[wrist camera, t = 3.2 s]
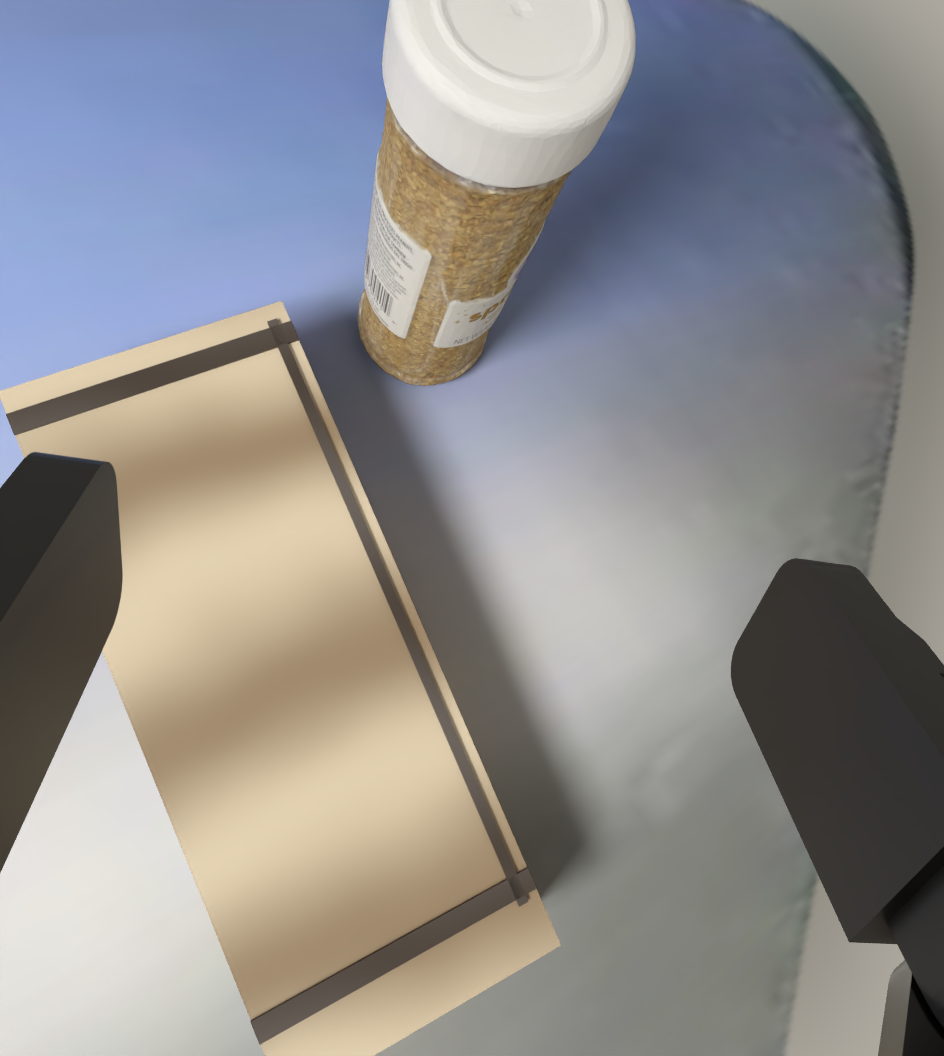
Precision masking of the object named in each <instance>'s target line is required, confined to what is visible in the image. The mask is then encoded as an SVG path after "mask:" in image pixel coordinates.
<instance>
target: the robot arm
mask: <svg viewBox="0 0 944 1056" xmlns="http://www.w3.org/2000/svg"><path fill="white" fill-rule="evenodd" d="M122 580H123V571H122V555H121V540H120V524H119V509H118V494H117V480H116V474H115V470H114V467H113V466H112V464H111V463H110V462H105V461H98V460H91V459H84V458H76V457H69V456H62V455H55V454H47V453H40V452H32V453H30V454H29V455H27V456H26V457H25V458H24V459H23V461H22V462H21V463H20V464H19V466H18V467H17V468H16V469H15V471H14V472H13V473H12V474H11V476H10V477H9V478H8V479H7V481H6V482H5V483H4V484H3V486H2V487H1V488H0V872H1V870H2V868H3V866H4V864H5V861H6V859H7V857H8V855H9V853H10V850H11V848H12V846H13V844H14V842H15V840H16V837H17V835H18V833H19V831H20V829H21V826H22V824H23V822H24V820H25V818H26V816H27V813H28V811H29V809H30V807H31V805H32V802H33V800H34V798H35V796H36V794H37V792H38V789H39V787H40V785H41V783H42V781H43V778H44V776H45V774H46V772H47V770H48V768H49V765H50V763H51V761H52V759H53V757H54V754H55V752H56V750H57V748H58V746H59V744H60V741H61V739H62V737H63V735H64V733H65V731H66V728H67V726H68V724H69V722H70V720H71V717H72V715H73V713H74V711H75V709H76V707H77V704H78V702H79V700H80V698H81V696H82V693H83V691H84V689H85V687H86V685H87V683H88V680H89V678H90V676H91V674H92V672H93V669H94V667H95V665H96V663H97V661H98V659H99V656H100V654H101V652H102V650H103V648H104V645H105V643H106V641H107V639H108V637H109V635H110V632H111V630H112V628H113V625H114V622H115V620H116V616H117V613H118V608H119V604H120V599H121V592H122ZM731 679H732V685H733V689H734V692H735V695H736V697H737V699H738V701H739V704H740V706H741V708H742V710H743V712H744V714H745V717H746V719H747V721H748V723H749V725H750V727H751V730H752V732H753V734H754V736H755V738H756V740H757V743H758V745H759V747H760V749H761V751H762V754H763V756H764V758H765V760H766V762H767V764H768V767H769V769H770V771H771V773H772V775H773V777H774V780H775V782H776V784H777V786H778V788H779V791H780V793H781V795H782V797H783V799H784V801H785V804H786V806H787V808H788V810H789V812H790V814H791V817H792V819H793V821H794V823H795V825H796V827H797V830H798V832H799V834H800V836H801V838H802V841H803V843H804V845H805V847H806V849H807V851H808V854H809V856H810V858H811V860H812V862H813V864H814V867H815V869H816V871H817V873H818V875H819V878H820V880H821V882H822V884H823V886H824V888H825V891H826V893H827V895H828V897H829V899H830V901H831V903H832V906H833V908H834V910H835V912H836V914H837V917H838V919H839V921H840V923H841V925H842V928H843V930H844V932H845V934H846V936H847V938H848V941H849V942H857V943H884V944H885V943H886V944H897V945H898V946H899V949H900V950H901V952H902V954H903V956H904V958H905V960H904V961H903V962H902V963H901V964H900V965H899V966H898V967H897V968H896V969H895V970H894V971H893V973H892V975H891V977H890V980H889V984H888V991H887V997H886V1004H885V1011H884V1018H883V1025H882V1032H881V1039H880V1046H879V1052H878V1056H944V665H943V664H942V663H941V661H940V660H939V659H938V657H937V656H936V655H935V653H934V652H933V651H932V650H931V649H930V647H929V646H928V645H927V643H926V642H925V641H924V640H923V639H922V638H920V637H919V636H918V635H917V634H916V633H915V632H913V631H912V630H911V629H910V628H909V627H907V626H906V625H905V624H903V623H902V622H901V621H900V620H899V619H898V618H896V616H895V615H894V614H893V612H892V611H891V610H890V609H889V607H888V606H887V605H886V603H885V602H884V601H883V599H882V598H881V597H880V596H879V594H878V593H877V592H876V591H875V589H874V588H873V586H872V585H871V584H870V583H869V581H868V580H867V579H866V577H865V576H864V575H863V574H862V573H861V572H860V570H858V569H857V568H855V567H853V566H849V565H841V564H834V563H827V562H820V561H812V560H805V559H797V558H796V559H791V560H789V561H787V562H786V563H784V564H783V565H782V566H781V568H780V569H779V570H778V572H777V573H776V575H775V577H774V579H773V580H772V582H771V584H770V586H769V587H768V589H767V591H766V593H765V594H764V596H763V598H762V600H761V602H760V603H759V605H758V607H757V609H756V610H755V612H754V614H753V616H752V617H751V619H750V621H749V623H748V625H747V626H746V628H745V630H744V632H743V633H742V635H741V637H740V639H739V640H738V642H737V644H736V646H735V649H734V652H733V656H732V662H731Z"/></svg>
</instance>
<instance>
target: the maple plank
mask: <svg viewBox="0 0 944 1056" xmlns="http://www.w3.org/2000/svg"><path fill="white" fill-rule="evenodd" d="M0 398H1V401H2V403H3V406H4V408H5V411H6V413H7V414H6V416H7V418H8V421H9V423H10V426H11V428H12V431H13V433H14V435H15V436H16V438H17V441H18V443H19V446H20V448H21V451H22V453H23V455H24V458H25V457H26V456H27V455H29V454H30V453H32V452H40V453H47V454H55V455H62V456H69V457H76V458H84V459H91V460H98V461H105V462H110V463H111V464H112V466H113V467H114V470H115V474H116V480H117V494H118V509H119V524H120V540H121V555H122V571H123V580H122V592H121V599H120V604H119V608H118V613H117V616H116V620H115V622H114V625H113V628H112V630H111V632H110V635H109V637H108V639H107V641H106V643H105V645H104V648H103V650H102V652H103V654H104V657H105V659H106V662H107V664H108V667H109V669H110V672H111V674H112V676H113V679H114V681H115V684H116V686H117V689H118V691H119V694H120V696H121V699H122V701H123V704H124V706H125V709H126V711H127V714H128V716H129V719H130V721H131V724H132V726H133V729H134V731H135V734H136V736H137V739H138V741H139V744H140V746H141V748H142V751H143V753H144V756H145V758H146V761H147V763H148V766H149V768H150V771H151V773H152V776H153V778H154V781H155V783H156V786H157V788H158V791H159V793H160V796H161V798H162V801H163V803H164V806H165V808H166V811H167V813H168V816H169V818H170V821H171V823H172V825H173V828H174V830H175V833H176V835H177V838H178V840H179V843H180V845H181V848H182V850H183V853H184V855H185V858H186V860H187V863H188V865H189V868H190V870H191V873H192V875H193V878H194V880H195V883H196V885H197V888H198V890H199V893H200V895H201V897H202V900H203V902H204V905H205V907H206V910H207V912H208V915H209V917H210V920H211V922H212V925H213V927H214V930H215V932H216V935H217V937H218V940H219V942H220V945H221V947H222V950H223V952H224V955H225V957H226V960H227V962H228V965H229V967H230V970H231V972H232V974H233V977H234V979H235V982H236V984H237V987H238V989H239V992H240V994H241V997H242V999H243V1002H244V1004H245V1007H246V1009H247V1012H248V1014H249V1017H250V1019H251V1024H252V1027H253V1029H254V1032H255V1034H256V1037H257V1039H258V1042H259V1044H261V1046H262V1049H263V1051H264V1054H265V1056H374V1055H376V1054H377V1053H379V1052H381V1051H382V1050H384V1049H386V1048H388V1047H389V1046H391V1045H393V1044H394V1043H396V1042H398V1041H399V1040H401V1039H403V1038H404V1037H406V1036H408V1035H410V1034H411V1033H413V1032H415V1031H416V1030H418V1029H420V1028H421V1027H423V1026H425V1025H427V1024H428V1023H430V1022H432V1021H433V1020H435V1019H437V1018H438V1017H440V1016H442V1015H443V1014H445V1013H447V1012H449V1011H450V1010H452V1009H454V1008H455V1007H457V1006H459V1005H460V1004H462V1003H464V1002H465V1001H467V1000H469V999H471V998H472V997H474V996H476V995H477V994H479V993H481V992H482V991H484V990H486V989H488V988H489V987H491V986H493V985H494V984H496V983H498V982H499V981H501V980H503V979H504V978H506V977H508V976H510V975H511V974H513V973H515V972H516V971H518V970H520V969H521V968H523V967H525V966H527V965H528V964H530V963H532V962H533V961H535V960H537V959H538V958H540V957H542V956H543V955H545V954H547V953H549V952H550V951H552V950H554V949H555V948H557V947H559V946H560V945H561V944H560V942H559V940H558V937H557V935H556V933H555V930H554V928H553V926H552V923H551V921H550V919H549V916H548V914H547V912H546V910H545V907H544V905H543V903H542V900H541V898H540V896H539V893H538V891H537V888H536V885H535V883H534V881H533V878H532V876H531V874H530V871H529V869H528V867H527V866H526V863H525V861H524V859H523V856H522V854H521V852H520V849H519V847H518V845H517V843H516V840H515V838H514V836H513V833H512V831H511V829H510V826H509V824H508V822H507V819H506V817H505V815H504V813H503V810H502V808H501V806H500V803H499V801H498V799H497V796H496V794H495V792H494V789H493V787H492V785H491V782H490V780H489V778H488V776H487V773H486V771H485V769H484V766H483V764H482V762H481V759H480V757H479V755H478V752H477V750H476V748H475V746H474V743H473V741H472V739H471V736H470V734H469V732H468V729H467V727H466V725H465V722H464V720H463V718H462V716H461V713H460V711H459V709H458V706H457V704H456V702H455V699H454V697H453V695H452V692H451V690H450V688H449V685H448V683H447V681H446V679H445V676H444V674H443V672H442V669H441V667H440V665H439V662H438V660H437V658H436V655H435V653H434V651H433V649H432V646H431V644H430V642H429V639H428V637H427V635H426V632H425V630H424V628H423V625H422V623H421V621H420V619H419V616H418V614H417V612H416V609H415V607H414V605H413V602H412V600H411V598H410V595H409V593H408V591H407V589H406V586H405V584H404V582H403V579H402V577H401V575H400V572H399V570H398V568H397V565H396V563H395V561H394V558H393V556H392V554H391V552H390V549H389V547H388V545H387V542H386V540H385V538H384V535H383V533H382V531H381V528H380V526H379V524H378V522H377V519H376V517H375V515H374V512H373V510H372V508H371V505H370V503H369V501H368V498H367V496H366V494H365V492H364V489H363V487H362V485H361V482H360V480H359V478H358V475H357V473H356V471H355V468H354V466H353V464H352V461H351V459H350V457H349V455H348V452H347V450H346V448H345V445H344V443H343V441H342V438H341V436H340V434H339V431H338V429H337V427H336V425H335V422H334V420H333V418H332V415H331V413H330V411H329V408H328V406H327V404H326V401H325V399H324V397H323V395H322V392H321V390H320V388H319V385H318V383H317V381H316V378H315V376H314V374H313V371H312V369H311V367H310V365H309V362H308V360H307V358H306V355H305V353H304V351H303V348H302V346H301V344H300V341H299V338H298V336H297V333H296V331H295V329H294V326H293V324H292V322H291V321H290V318H289V316H288V314H287V311H286V309H285V307H284V304H283V302H282V301H280V302H276V303H273V304H270V305H267V306H264V307H261V308H258V309H255V310H251V311H248V312H245V313H242V314H239V315H236V316H233V317H230V318H226V319H223V320H220V321H217V322H214V323H211V324H208V325H205V326H201V327H198V328H195V329H192V330H189V331H186V332H183V333H180V334H176V335H173V336H170V337H167V338H164V339H161V340H158V341H155V342H151V343H148V344H145V345H142V346H139V347H136V348H133V349H130V350H126V351H123V352H120V353H117V354H114V355H111V356H108V357H105V358H101V359H98V360H95V361H92V362H89V363H86V364H83V365H80V366H76V367H73V368H70V369H67V370H64V371H61V372H58V373H55V374H51V375H48V376H45V377H42V378H39V379H36V380H33V381H30V382H26V383H23V384H20V385H17V386H14V387H11V388H8V389H5V390H1V391H0Z"/></svg>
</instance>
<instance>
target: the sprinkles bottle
mask: <svg viewBox="0 0 944 1056" xmlns="http://www.w3.org/2000/svg"><path fill="white" fill-rule="evenodd" d="M634 59H635V27H634V20H633V16H632V12H631V9H630V5H629V3H628V0H390V3H389V9H388V16H387V23H386V31H385V39H384V49H383V59H382V68H383V79H384V85H385V89H386V93H387V104H386V113H385V124H384V130H383V137H382V144H381V146H380V149H379V152H378V155H377V162H376V170H375V179H374V188H373V197H372V206H371V215H370V224H369V233H368V242H367V251H366V260H365V271H364V282H365V289H364V291H363V293H362V296H361V299H360V303H359V307H358V325H359V335H360V338H361V340H362V343H363V344H364V346H365V348H366V351H367V353H368V354H369V355H370V357H371V358H372V360H374V361H375V362H376V364H377V365H378V366H379V367H380V368H382V369H383V370H384V371H385V372H387V373H388V374H390V375H392V376H394V377H395V378H397V379H399V380H401V381H403V382H405V383H408V384H412V385H423V386H426V385H436V384H438V383H444V382H448V381H452V380H453V379H455V378H457V377H459V376H461V375H462V374H463V373H465V372H466V371H467V370H468V369H470V368H471V366H472V365H473V364H474V363H475V362H476V360H477V359H478V358H479V356H480V355H481V354H482V352H483V349H484V344H485V342H486V340H487V335H488V331H489V330H490V328H491V326H492V324H493V323H494V322H495V320H496V319H497V317H498V316H499V314H500V312H501V310H502V308H503V306H504V304H505V302H506V300H507V298H508V296H509V294H510V292H511V290H512V288H513V286H514V284H515V282H516V280H517V278H518V276H519V274H520V272H521V270H522V268H523V266H524V264H525V262H526V260H527V259H528V257H529V255H530V253H531V251H532V249H533V247H534V245H535V243H536V242H537V239H538V237H539V235H540V233H541V231H542V229H543V227H544V223H545V220H546V217H547V216H548V214H549V213H550V210H551V208H552V206H553V205H554V202H555V200H556V198H557V196H558V194H559V192H560V191H561V189H562V187H563V185H564V182H565V180H566V179H567V177H568V176H569V174H570V172H571V170H572V169H574V168H575V167H576V166H578V165H579V164H580V163H581V162H582V161H583V160H584V158H586V157H587V156H588V155H589V153H590V152H591V151H592V149H593V148H594V146H595V145H596V143H597V141H598V139H599V138H600V136H601V134H602V132H603V131H604V129H605V127H606V125H607V123H608V122H609V120H610V118H611V116H612V114H613V112H614V110H615V108H616V106H617V104H618V102H619V100H620V98H621V96H622V94H623V92H624V90H625V87H626V85H627V83H628V80H629V78H630V76H631V72H632V68H633V64H634Z"/></svg>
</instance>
